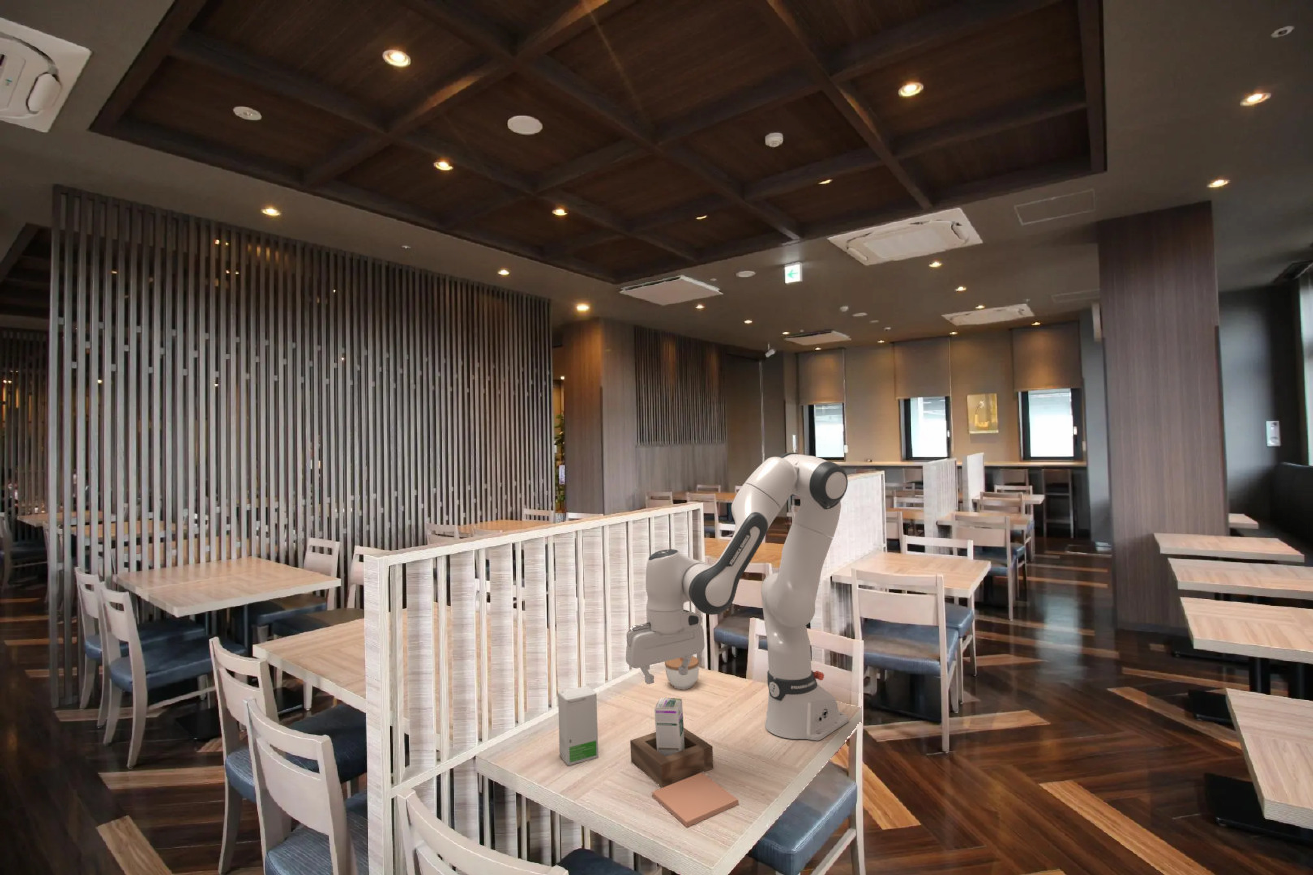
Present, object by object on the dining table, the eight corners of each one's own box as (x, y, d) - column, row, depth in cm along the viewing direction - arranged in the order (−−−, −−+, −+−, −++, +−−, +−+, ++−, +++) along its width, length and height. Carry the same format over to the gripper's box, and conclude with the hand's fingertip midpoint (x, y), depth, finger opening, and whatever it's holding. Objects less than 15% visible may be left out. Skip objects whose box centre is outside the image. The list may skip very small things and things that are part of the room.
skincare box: (567, 766, 143) (564, 700, 143) (558, 754, 149) (555, 691, 149) (600, 757, 147) (597, 692, 147) (590, 745, 152) (587, 683, 153)
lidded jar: (663, 692, 185) (662, 661, 185) (668, 678, 195) (667, 649, 196) (698, 692, 183) (696, 661, 183) (701, 679, 194) (700, 649, 194)
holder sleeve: (679, 744, 151) (678, 724, 151) (713, 767, 139) (712, 745, 139) (631, 761, 144) (630, 740, 144) (662, 787, 132) (661, 764, 132)
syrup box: (682, 771, 138) (679, 708, 139) (656, 770, 139) (654, 707, 140) (685, 759, 144) (683, 697, 144) (661, 757, 145) (658, 697, 145)
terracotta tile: (701, 776, 136) (701, 772, 136) (738, 804, 125) (738, 799, 125) (652, 796, 129) (652, 791, 129) (686, 827, 118) (686, 821, 118)
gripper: (633, 630, 134) (635, 693, 134) (707, 615, 145) (709, 673, 145) (620, 623, 140) (621, 684, 139) (692, 609, 150) (693, 665, 150)
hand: (666, 678), depth 142 cm, fingers open, 8 cm apart
